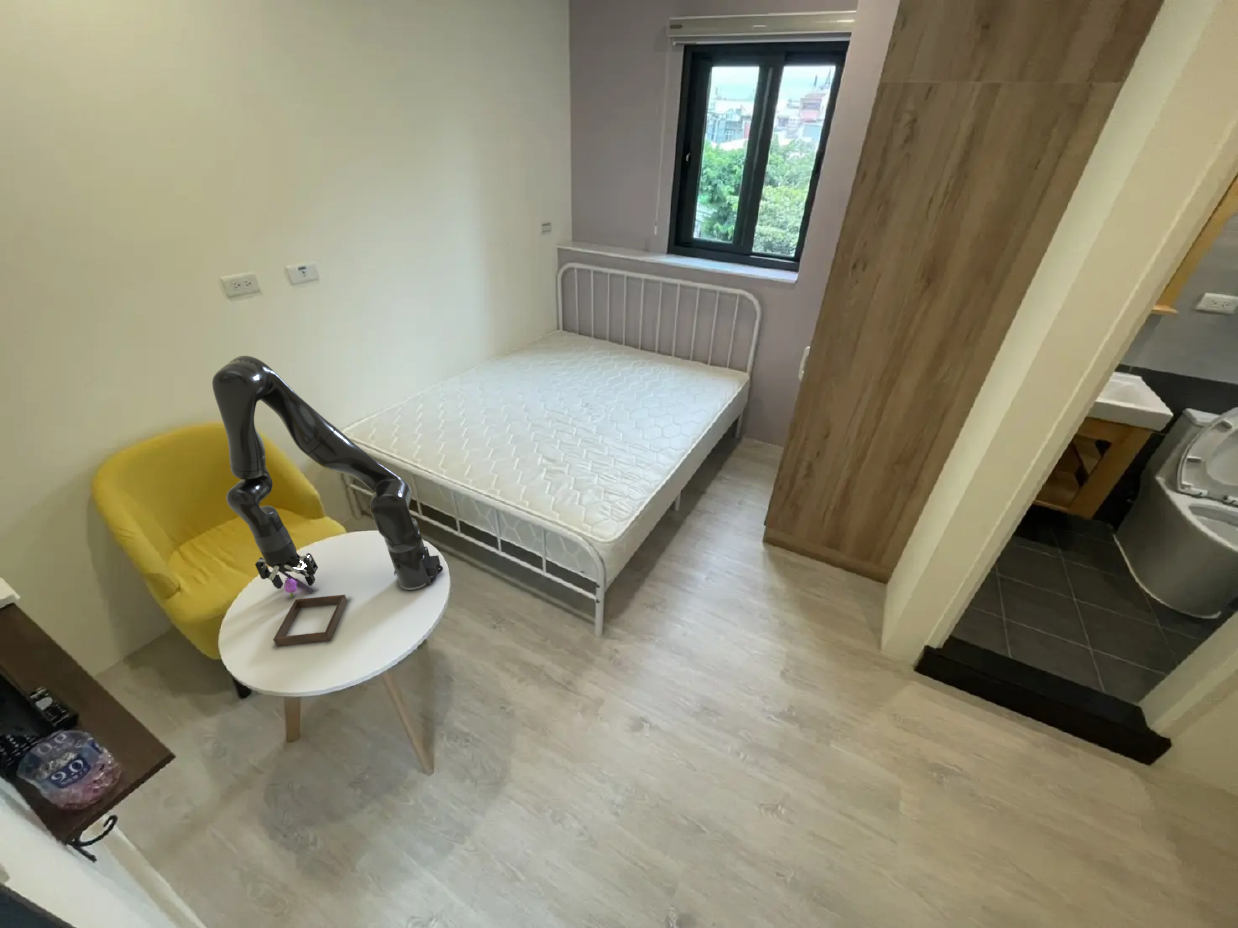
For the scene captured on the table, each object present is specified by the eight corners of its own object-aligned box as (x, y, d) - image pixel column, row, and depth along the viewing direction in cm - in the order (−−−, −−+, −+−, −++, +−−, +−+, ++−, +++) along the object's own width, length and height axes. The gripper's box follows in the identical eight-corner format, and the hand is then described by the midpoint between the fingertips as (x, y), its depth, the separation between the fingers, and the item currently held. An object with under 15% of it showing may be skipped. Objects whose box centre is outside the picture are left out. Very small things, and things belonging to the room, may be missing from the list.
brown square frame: (347, 601, 142) (344, 594, 141) (330, 640, 131) (327, 633, 130) (298, 605, 141) (295, 599, 140) (276, 646, 130) (272, 639, 128)
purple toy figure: (301, 578, 141) (281, 567, 145) (286, 594, 138) (266, 583, 142) (316, 588, 146) (296, 578, 150) (302, 604, 143) (282, 593, 147)
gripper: (239, 554, 133) (264, 597, 141) (296, 548, 134) (317, 592, 143) (253, 535, 139) (276, 578, 148) (307, 530, 140) (327, 573, 149)
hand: (296, 585), depth 145 cm, fingers open, 8 cm apart
